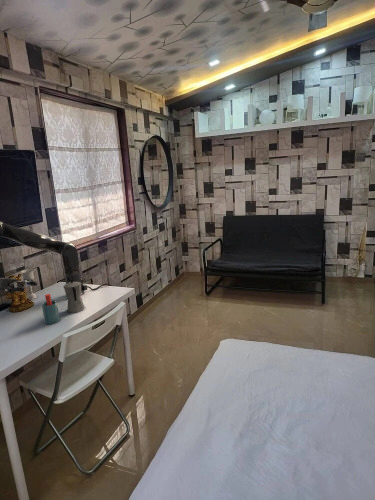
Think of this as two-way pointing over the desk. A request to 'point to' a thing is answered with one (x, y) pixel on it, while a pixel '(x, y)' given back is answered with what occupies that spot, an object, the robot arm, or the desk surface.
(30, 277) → the chalice
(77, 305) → the coffeepot
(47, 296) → the red cylindrical rod
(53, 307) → the cup
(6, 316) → the desk surface
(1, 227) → the robot arm
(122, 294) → the desk surface
